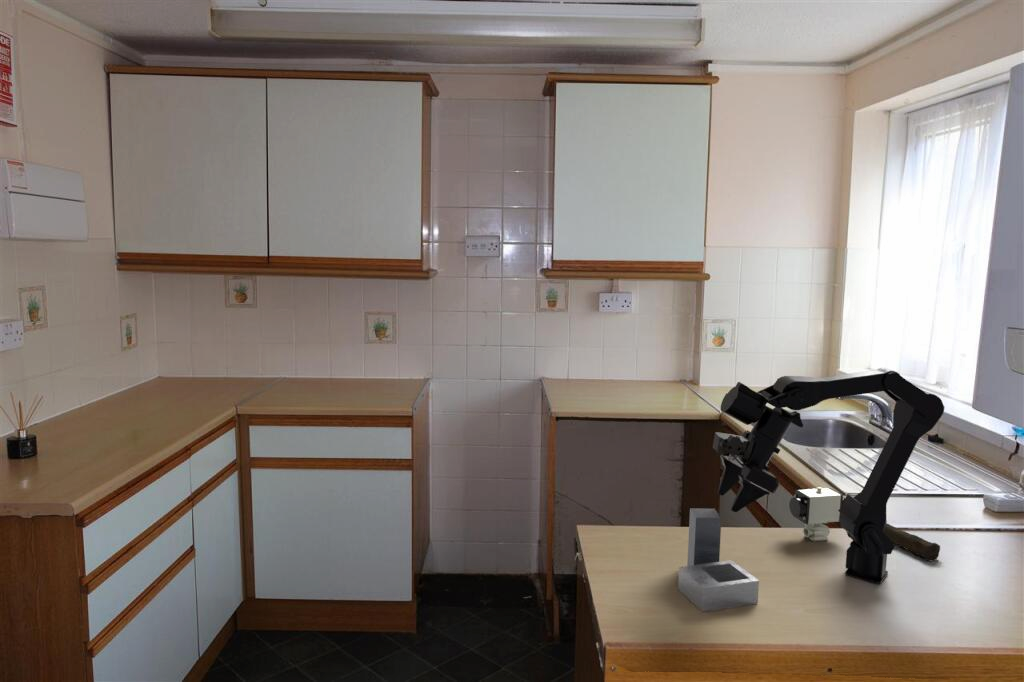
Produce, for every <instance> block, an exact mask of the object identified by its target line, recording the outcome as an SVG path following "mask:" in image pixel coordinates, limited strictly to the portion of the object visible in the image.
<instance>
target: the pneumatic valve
mask: <svg viewBox="0 0 1024 682" xmlns="http://www.w3.org/2000/svg"><path fill="white" fill-rule="evenodd" d="M845 498H846V496H844V494H843V493H840V492H839V491H837V490H835V489H833V488H831V487H828V488H827V487H823V488H822V487H821V486H819V487H816V488H815V487H814V488H807V489H795V490H794V494H793V497H791V498H790V500H789V503H788V504H789V511H790V513H791V515H792V516H793V517H794V518H795V519H797V520H799V521H801V522H802V523H803V524H804V526H805V527H803V530H802V532H803V535H804V537H805V538H808V539H810V540H811V542H814V543H815V542H824V541H826V542H827V540H828V537H829V535H830V534H831V530H830V528H829V526H828V525H826V524H827V523H835V522H836V523H837V522H839V523H840V521H839V516H840V512H839V511H838V510H839V509H840V508H841V507H842V506H843V504H844V501H845Z"/></svg>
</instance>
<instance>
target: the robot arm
mask: <svg viewBox="0 0 1024 682" xmlns="http://www.w3.org/2000/svg"><path fill="white" fill-rule="evenodd" d="M879 392H880V393H881V392H883V393H884V394H886V395H887V396H888V397H889V398H890V399H891V400H893V401H894V402H895V404H894V408H893V412H892V420H893V421H892V423H893V426H892V429H891V432H890V434H889V436H888V437H887V439H886V441H885V444H884V445H883V448H882V449H881V452H880V453H879V455H878V458H877V460H876V462H875V464H874V466H873V468H872V470H871V472H870V474H869V476H868V478H867V480H866V482H865V484H864V486H863V488H862V490H861V491H860V492H859V493H858V494H856V495H854V496H852V495H850V494H847V495H845V501H844V504H843V506H842V507H841V508H840V509H839V510H838V511H839V512H840V516H839V523H840V526H841V528H842V529H843V530H844V531H845V532H846V535H847V537H848V538H850V539H851V540H852V541H851V542H849V543H850V544H849V546H848V548H847V549H846V558H845V569H846V571H845V573H844V574H845V575H846V576H849V577H853V578H857V579H858V580H859V579H860V580H864V581H867V582H871V583H874V584H876V585H881V584H882V582H883V581H884V580H885V578H886V577H887V576H888V573H889V571H888V570H887V561H888V555H891V554H892V553H893V551H894V549H895V545H896V544H895V543H893V542H892V541H891V540H890V539H889V538H888V537H887V536H886V535H885V534H884V533H883V530H884V527H885V524H886V520H887V504H888V501H889V499H890V497H891V496H892V493H893V491H894V490H895V487H896V485H897V483H898V481H899V479H900V477H902V474H903V471H904V469H905V467H906V465H907V464H908V461H910V457H911V455H912V453H913V452H914V449H915V448H916V446H917V443H918V442H919V440H920V439H921V438H922V437H923V436H925V435H926V434H927V433H929V432H930V431H932V430H933V429H934V428H935V426H936V425H937V423H938V422H939V421H940V419H941V418H942V416H943V415H944V412H945V405H944V404H943V401H942V399H941V398H940V396H938V395H936V394H934V393H931V392H928V391H926V390H923V389H921V388H920V387H918V386H916V385H915V384H914V383H911V382H910V381H909V380H907V379H905V377H903V376H902V375H901V374H900V373H899V372H898V371H895V370H891V369H889V368H886V367H880V368H877V369H873V370H866V371H857V372H852V373H845V374H838V375H831V376H824V377H822V376H821V377H810V376H803V375H802V376H800V375H798V376H797V375H784V376H780V377H779V378H777V379H776V381H774V383H773V384H772V385H770V386H767V387H765V388H763V389H761V390H758V391H756V390H753V389H751V387H748V386H747V385H746V384H745V383H742V382H740V381H738V382H737V383H736V384H735V386H734V387H732V388H731V389H730V390H729V391H728V392H727V393H725V395H724V396H723V398H722V400H721V404H720V412H721V413H723V414H726V415H727V416H729V417H731V418H732V419H735V420H736V421H738V422H740V423H742V424H745V425H747V426H748V425H749V426H750V425H751V424H753V426H752V428H751V431H750V430H749V429H747V430H746V431H744V432H743V434H742V435H737V434H731V433H724V432H719V431H718V432H717V431H716V432H714V438H713V443H712V449H714V450H715V452H716V453H718V454H721V455H719V456H720V459H721V462H722V464H723V468H722V473H721V479H720V483H719V485H718V490H717V494H718V495H720V496H724V495H725V494H727V493H728V492H729V491H730V490H731V489H732V488H733V487H734V486H735V485H736V484H737V483H739V482H740V486H739V489H738V491H737V493H736V495H735V497H734V500H733V502H732V505H731V507H730V511H732V512H734V513H737V512H739V511H741V510H742V509H744V508H745V507H748V505H750V504H751V503H754V502H755V501H757V500H759V499H760V498H763V497H764V496H766V495H771V494H775V493H776V491H777V489H778V488H779V487H780V484H779V479H778V478H777V477H776V476H775V475H774V474H773V473H772V472H770V471H769V470H770V467H769V466H768V464H769V462H770V460H771V459H772V457H773V455H774V453H775V454H776V455H778V454H779V453H780V452H781V449H780V448H779V445H780V443H781V442H782V440H783V439H784V437H785V436H786V434H787V431H789V429H790V426H791V425H792V424H793V425H795V426H797V427H799V428H803V427H804V424H803V420H802V418H801V413H800V412H798V411H801V410H806V409H808V408H811V407H814V406H817V405H818V404H820V403H821V402H823V401H826V400H827V401H828V400H830V399H838V398H845V397H850V396H852V397H853V396H857V395H859V396H860V395H864V394H865V395H866V394H873V393H879ZM767 404H769V405H770V406H772V407H773V408H771V407H769V406H767ZM784 408H788V409H789V410H792V411H788V410H786V409H784Z"/></svg>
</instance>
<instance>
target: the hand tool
mask: <svg viewBox="0 0 1024 682" xmlns="http://www.w3.org/2000/svg"><path fill="white" fill-rule="evenodd" d="M887 522H888V521H887V519H886V524H885V527H884V530H883V533H884V534H885V535H886V536H887V537H888V538H889V539H890V540H891V541H892V542H893V543H894V544H895V545H897V546H900V547H901V548H903V549H905V550H907V551H910V552H911V553H914V554H916V555H918V556H921V557H923V558H924V560H925V561H926V562H931V561H930V560H933V561H936V560H937V559H938V558H939V555H940V550H941V545H940V544H938V543H936V542H931V541H928V540H925V539H924V538H922V537H919V536H918V535H916V534H911V533H909V532H907V531H904V530H902V529H900V528H897V527H895V526H894V525H891V524H889V523H887ZM935 559H936V560H935Z"/></svg>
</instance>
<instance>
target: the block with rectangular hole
mask: <svg viewBox="0 0 1024 682" xmlns="http://www.w3.org/2000/svg"><path fill="white" fill-rule="evenodd" d="M677 580H678V585H677V590H678V589H679V590H680V591H679V592H680V593H682V594H683V595H684V597H686V598H687V599H688V600H689V601H690V602H691V603H692V604H694V606H696V607H697V608H698V610H700V611H701V612H702V613H704V612H713V611H718V610H725V609H732V608H738V607H745V606H752V605H758V604H759V603H758V601H759V590H760V589H759V588H760V587H759V586H760V580H759V579H758V578H756V577H755V576H754V575H752V574H751V573H749V572H748V571H747V570H746V569H744V568H743V567H742V566H740V565H738V564H737V563H736V562H735V561H733V560H731V559H729V560H722V561H719V562H713V563H706V564H698V565H690V566H687V565H685V566H684V565H683V566H679V567H678V579H677Z"/></svg>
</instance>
